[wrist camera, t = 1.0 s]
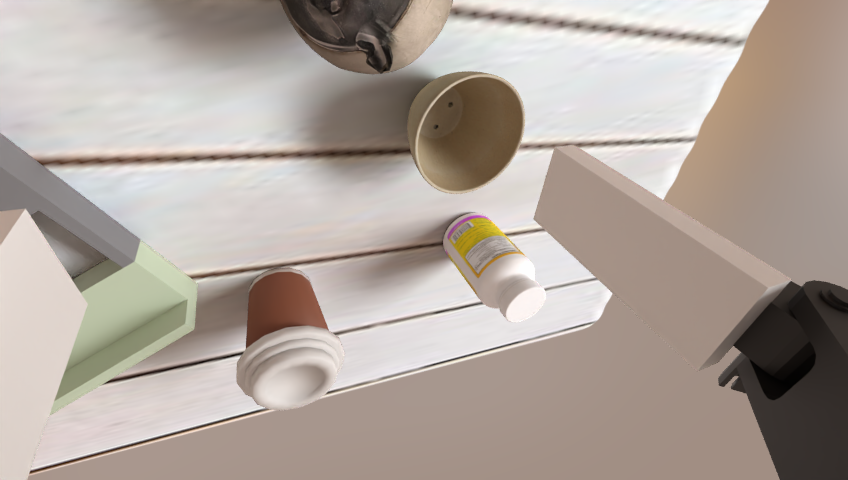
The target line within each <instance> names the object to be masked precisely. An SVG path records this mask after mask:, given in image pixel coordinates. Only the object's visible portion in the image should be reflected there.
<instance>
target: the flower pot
mask: <svg viewBox="0 0 848 480" xmlns="http://www.w3.org/2000/svg"><path fill="white" fill-rule="evenodd" d="M450 102H451V103H450ZM449 103H450V104H449ZM437 125H438V128H436V126H437ZM524 127H525V112H524V106H523V103H522V100H521V98H520V96H519V94H518V92H517V91H516V89H515V88H514V87H513V86H512V85H511V84H510V83H509V82H508V81H506V80H505V79H503V78H501V77H498V76H495V75H492V74H488V73H482V72H456V73H451V74H447V75H444V76H441V77H439V78H437V79H435V80H433V81H432V82H430V83H429V84H427V85H426V86H425V87H424V88H423V89H422V90H421V91H420V92H419V93H418V94H417V96H416V97H415V99H414V101H413V103H412V105H411V108H410V111H409V116H408V124H407V133H408V142H409V146H410V150H411V154H412V157H413V159H414V162H415V164H416V166H417V168H418V170H419V172H420V173H421V175H422V176H423V178H424V179H425V180H426V181H427V182H428V183H429V184H430V185H431V186H432V187H434V188H436V189H437V190H440V191H442V192H446V193H451V194H461V193H467V192H471V191H474V190H477V189H479V188H481V187H483V186H485V185H487V184H488V183H490V182H491V181H493V180H494V179H495V178H497V177H498V176H499V175H500V174H501V173H502V172H503V171H504V170H505V169H506V168H507V166H508V165H509V164H510V162H511V161H512V159H513V158H514V156H515V154H516V152H517V151H518V148H519V146H520V144H521V141H522V137H523V133H524Z"/></svg>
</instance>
